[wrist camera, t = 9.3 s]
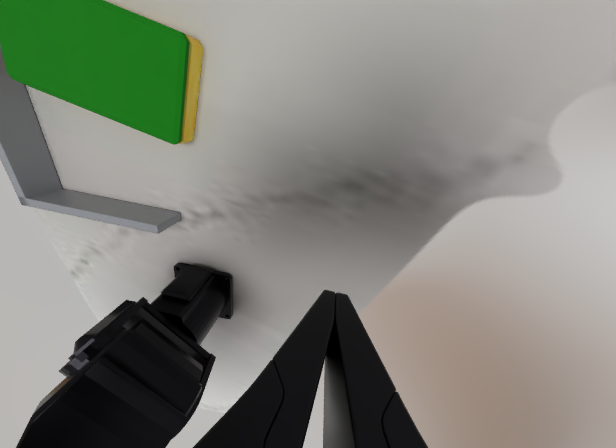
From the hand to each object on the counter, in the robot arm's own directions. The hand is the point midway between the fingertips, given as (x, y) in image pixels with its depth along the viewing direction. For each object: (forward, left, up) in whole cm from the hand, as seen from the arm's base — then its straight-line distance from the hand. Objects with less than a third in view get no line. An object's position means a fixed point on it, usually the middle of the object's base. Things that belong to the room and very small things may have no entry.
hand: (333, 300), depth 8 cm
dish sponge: (+7, +19, -13) cm, 24 cm away
